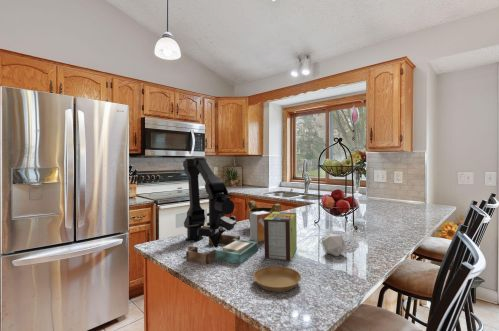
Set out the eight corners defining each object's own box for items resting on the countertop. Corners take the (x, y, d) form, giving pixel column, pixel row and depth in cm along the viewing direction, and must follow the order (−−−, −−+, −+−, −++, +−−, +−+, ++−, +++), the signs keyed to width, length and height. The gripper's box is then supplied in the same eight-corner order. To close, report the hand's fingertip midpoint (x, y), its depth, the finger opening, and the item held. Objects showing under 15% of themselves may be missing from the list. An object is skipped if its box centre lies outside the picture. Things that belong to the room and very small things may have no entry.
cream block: (222, 257, 105) (222, 247, 105) (236, 249, 114) (235, 240, 114) (237, 260, 101) (237, 250, 101) (250, 252, 110) (250, 243, 110)
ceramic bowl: (288, 229, 145) (288, 202, 145) (268, 235, 133) (267, 206, 133) (259, 223, 161) (259, 198, 161) (238, 228, 149) (238, 201, 149)
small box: (257, 242, 122) (257, 214, 122) (249, 239, 128) (249, 212, 127) (271, 239, 127) (270, 212, 127) (263, 236, 132) (263, 210, 132)
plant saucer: (282, 301, 71) (282, 292, 71) (243, 284, 81) (243, 276, 81) (310, 282, 82) (310, 274, 82) (272, 270, 92) (272, 262, 92)
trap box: (180, 259, 103) (180, 250, 102) (215, 240, 126) (215, 233, 126) (234, 269, 92) (234, 259, 92) (262, 246, 116) (262, 239, 116)
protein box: (296, 248, 114) (296, 212, 114) (290, 261, 99) (290, 220, 99) (273, 246, 117) (272, 211, 117) (263, 258, 103) (263, 218, 102)
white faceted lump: (327, 260, 101) (343, 241, 99) (314, 243, 108) (329, 226, 106) (338, 262, 106) (354, 245, 104) (325, 246, 113) (339, 230, 111)
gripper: (221, 216, 99) (221, 257, 99) (242, 208, 116) (243, 243, 116) (196, 214, 103) (196, 253, 104) (220, 206, 120) (221, 240, 121)
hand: (216, 247), depth 111 cm, fingers closed
